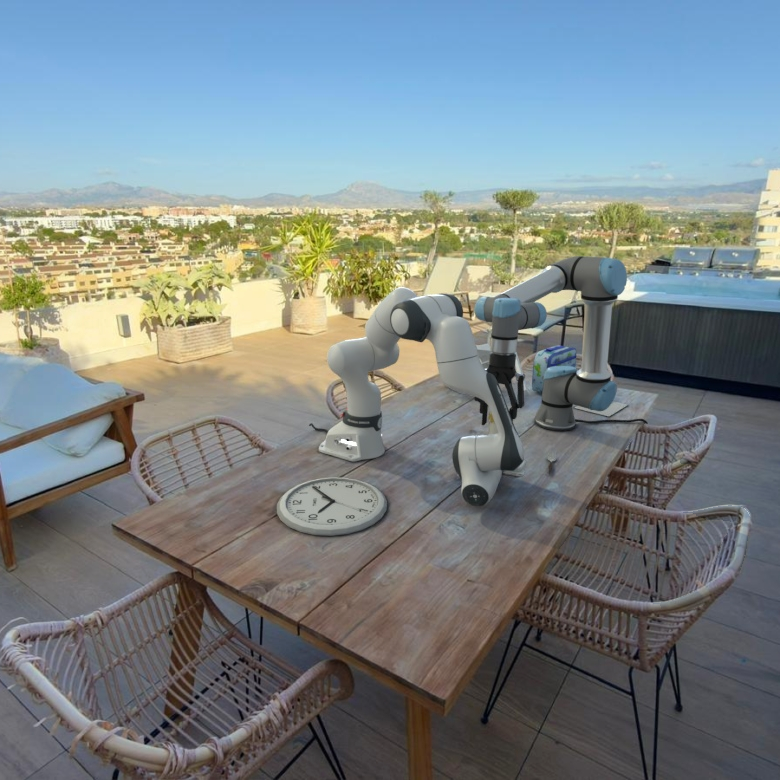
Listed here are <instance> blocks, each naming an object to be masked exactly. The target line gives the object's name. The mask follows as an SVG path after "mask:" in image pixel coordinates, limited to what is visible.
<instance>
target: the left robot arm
mask: <svg viewBox="0 0 780 780" xmlns="http://www.w3.org/2000/svg"><path fill="white" fill-rule="evenodd" d="M472 330H473V329H472V327H471V325H470V323H469V321H468V320H467V319H465V318H464V307H463V303H462V302H461V300H460V299H459V298H458V297H456V295H453V294H449V293H444V292H443V293H442V292H441V293H436V294H425V295H422V296H418V294H417V293H416V292H414V291H413V290H412V289H411V288H408V287H403V286H402V287H401V286H400V287H396V288H395V289H394V290H392V291H391V292H389V294H387V295H386V296H385V297H384V298H383V299H382V300H381V302H380V303H379V304H378V306H377V307H376V308H375V310H374V311H373V312H372V314H371V315H370V317H369V318H368V319H367V320H366V322H365V325H364V333H365V336H364V337H360V338H352V339H351V338H350V339H345V340H342V341H339V342H337V343H334V344H332V345H331V346H330V347H329V348H328V350H327V353H326V363H327V366H328V367H329V369H330V371H332V372H333V374H335V375H336V376H338V377H339V379H340V380H341V381H342V382H343V385H344V387H345V392H346V404H347V405H346V409H345V410H344V411H342V413H341V414H340V415H339V416H340V417H339V418H340V419H342V420H341V421H339V422H338V423H336V424H335V425H334V426H332V427H331V428H330V429H329V430H328V429H326V428H318V427H316V426H315V424H313V423H309V425H308V426H309V427H312V428H313V429H314V430H316V431H319V432H320V431H322V432H326V436H325V440H323V441H322V442H321V443H320V444H319V446H318V452H319V453H322V454H325V455H329V456H331V457H335V458H340V459H342V460H346V461H349V462H352V463H353V462H358V461H363V460H371V459H375V458H379V457H381V456H382V455H384V453H385V452H386V449H385V445H384V442H383V441H384V440H383V434H382V427H383V413H382V409H381V405H382V404H381V402H382V401H381V400H382V392H381V389H380V387H379V386H378V385H377V384H376V383H374V382H372V381H370V380H369V374H368V373H369V372H373V371H379V370H384V369H387V368H389V367H391V366H393V365H395V364H396V363H397V362H398V360H399V359H400V347H399V344H398V342H399V341H400V340H401V339H403V340H406V341H415V342H418V343H423V342H424V341H425V340H427V341H429V343H431V344H432V346H433V349H434V356H435V360H436V361H435V362H436V366H437V371H438V375H439V378H440V381H441V382H442V384H444V386H446V387H447V388H449V389H450V390H452V391H454V392H456V393H459V394H464V395H468V396H471V397H477V398H480V399H482V400H483V401H485V403H487V405H488V409H489V412H490V411H491V414H492V416H493V419H494V422H495V425H496V427H497V430H498V433H496V434H489V433H487V434H475V435H467V436H461V437H459V438H458V439H457V441H456V443H454V446H453V449H452V456H451V457H452V465H453V468H454V471H455V472H456V476H457V477H459V478H460V479H461V489H460V492H461V497H462V499H463V501H465V503H467V504H469V505H470V506H474V507H483V506H486V505H487V504H489V502H490V501H491V500H492V499H493V498H494V496H495V495H496V491H497V489H498V485H499V484H500V481H501V479H502V477H505V478H510V479H520V478H523V477H524V476H525V475H526V469H527V460H526V459H525V448H524V445H523V442H522V440H521V438H520V435H519V434H518V431H517V429H516V426H515V424H514V420H513V421H512V418H511V415H510V413H509V407H508V405H507V401H506V399H505V397H504V394H503V391H502V389H501V386H500V383H498V382H497V380H496V378H495V377H494V375H493V374H491V373H488V372H487V371H486V370H485V369H484V368H483V366H482V364H481V362H480V360H479V356H478V351H477V347H476V346H477V343H476V340H475V339H476V338H475V336H474V333H473V331H472Z"/></svg>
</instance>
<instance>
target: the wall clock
mask: <svg viewBox="0 0 780 780" xmlns="http://www.w3.org/2000/svg"><path fill="white" fill-rule="evenodd" d="M387 509H388V500H387V498H386V496H385V494H384V493H383V492H382V491H381V490H380V489H379V488H377V487H376V486H374V485H372V484H371V483H369V482H365V481H362V480H359V479H355V478H349V477H338V476H337V477H335V476H333V477H332V476H331V477H322V478H317V479H312V480H307V481H305V482H302V483H299V484H297V485H295V486H293V487H292V488H290V489H288V490H287V491H286V492H285V493H284V494H283V495H281V496H280V498H279V499H278V502H277V503H276V515H277V517H278V518H279V520H280V521H281V522H282V523H283V524H285V525H286V526H287V527H288V528H290V529H293V530H295V531H297V532H299V533H303V534H308V535H312V536H327V537H328V536H329V537H331V536H332V537H333V536H342V535H350V534H352V533H356V532H361V531H363V530H366V529H368V528H369V527H372V526H373V525H375V524H376V523H378V522H379V521H380V520H381V519H382V518H383V517H384V516H385V514H386V512H387Z"/></svg>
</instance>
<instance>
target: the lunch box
mask: <svg viewBox="0 0 780 780" xmlns="http://www.w3.org/2000/svg"><path fill="white" fill-rule="evenodd" d="M576 362H577V348H576V347H571V346H565V345H553V346H550V347H546V348H545V349H542V350H539V351H538V352H537V353H536V354H535V356H534V358H533V365H532V376H531V377H532V378H531V390H532V391H533V392H537V393H542V391H543V381H544V379H543V378H544V374H545V371H546V369H547V368H550V367H554V366H572V367H575V368H576V364H577V363H576Z"/></svg>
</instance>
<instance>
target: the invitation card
mask: <svg viewBox="0 0 780 780" xmlns="http://www.w3.org/2000/svg"><path fill="white" fill-rule="evenodd" d="M628 406H629V404H627V403H623V402H618V401H614V400H613V402H612V403H611V405H610V406H609V407H608V408H607V409H606V410H604V411H595V410H590V409H588V408H584V407H581V406H578V405H575V406H574V407H573V409H575V410H581V411H584V412H587V413H593V414H596V415H600V416H604V417H608V418H609V417H611V416H613V415H614V414H616V413H617V412H619V411H621V410H623V409H624V408H626V407H628Z"/></svg>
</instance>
